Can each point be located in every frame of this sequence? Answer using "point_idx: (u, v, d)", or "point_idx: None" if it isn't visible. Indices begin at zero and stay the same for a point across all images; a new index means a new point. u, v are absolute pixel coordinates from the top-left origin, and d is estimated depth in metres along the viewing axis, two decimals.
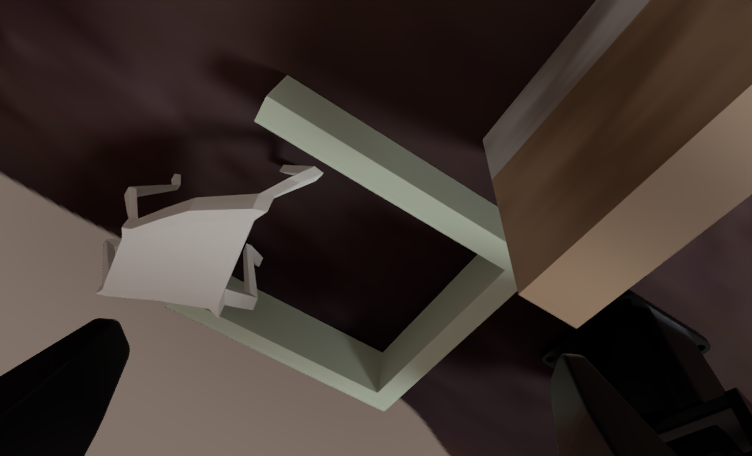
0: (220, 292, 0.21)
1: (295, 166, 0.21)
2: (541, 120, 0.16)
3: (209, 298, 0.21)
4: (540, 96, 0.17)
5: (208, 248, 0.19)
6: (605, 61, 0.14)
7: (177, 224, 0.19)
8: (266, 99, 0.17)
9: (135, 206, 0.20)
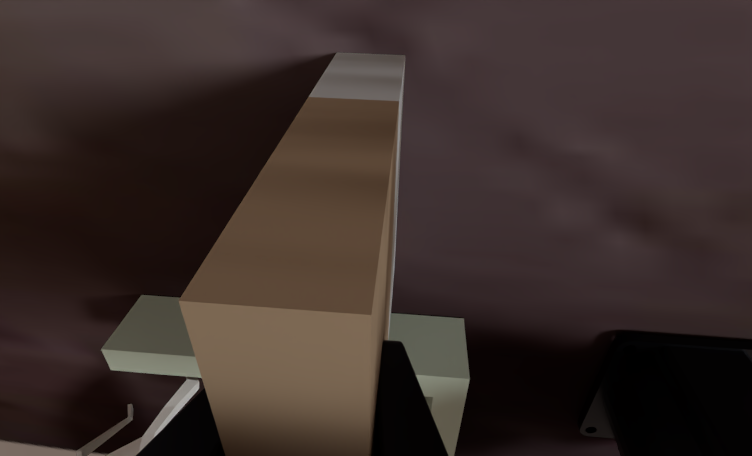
0: None
1: None
2: None
3: None
4: None
5: None
6: None
7: None
8: (103, 351, 0.17)
9: None
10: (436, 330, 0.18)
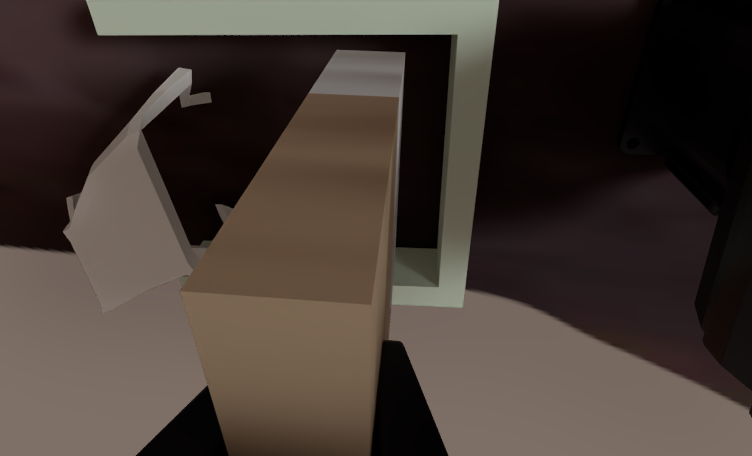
0: (179, 249, 0.19)
1: None
2: None
3: (177, 262, 0.19)
4: None
5: (132, 207, 0.18)
6: None
7: (91, 198, 0.18)
8: (88, 1, 0.16)
9: (72, 209, 0.20)
10: None
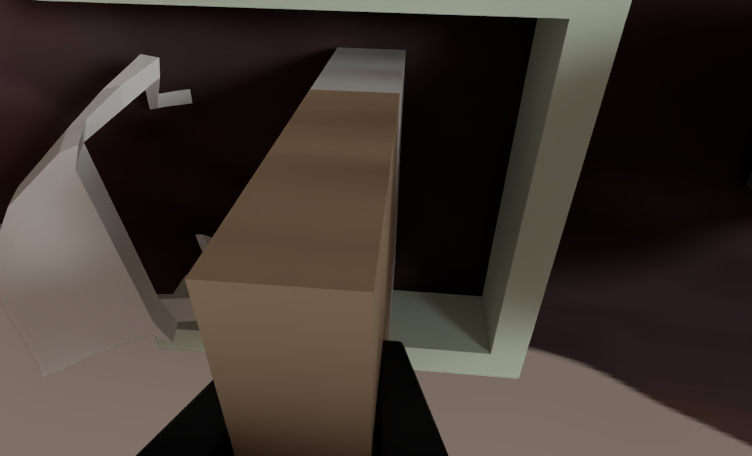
0: (141, 304, 0.14)
1: None
2: None
3: (138, 320, 0.14)
4: None
5: (73, 249, 0.13)
6: None
7: (16, 235, 0.13)
8: None
9: None
10: None
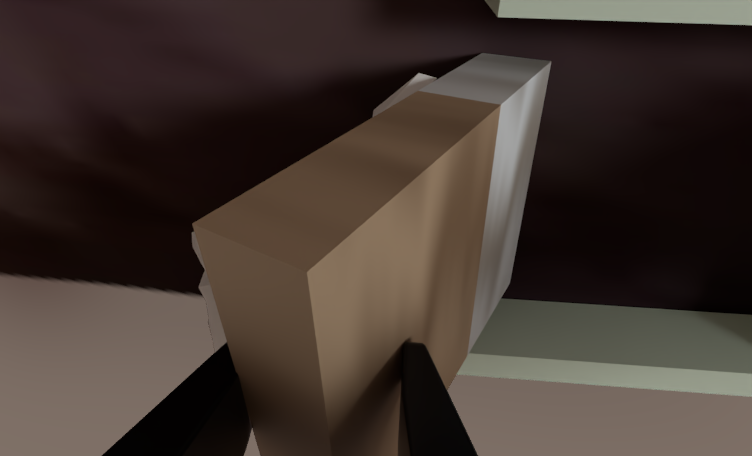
0: None
1: (390, 97, 0.13)
2: None
3: None
4: None
5: None
6: None
7: None
8: None
9: None
10: None
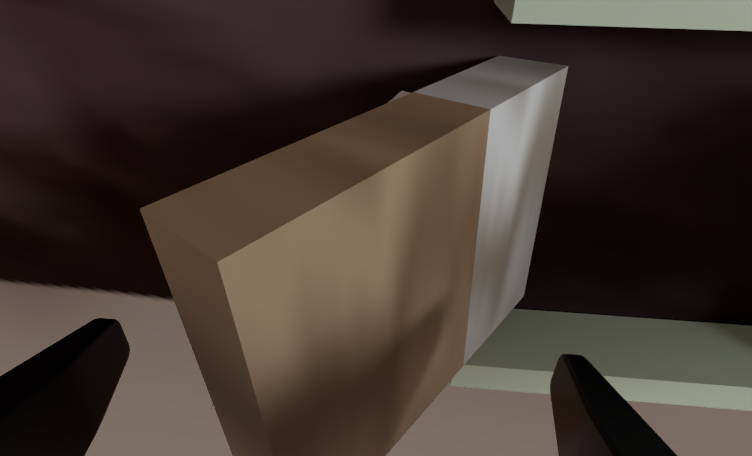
0: None
1: None
2: None
3: None
4: None
5: None
6: None
7: None
8: None
9: None
10: None
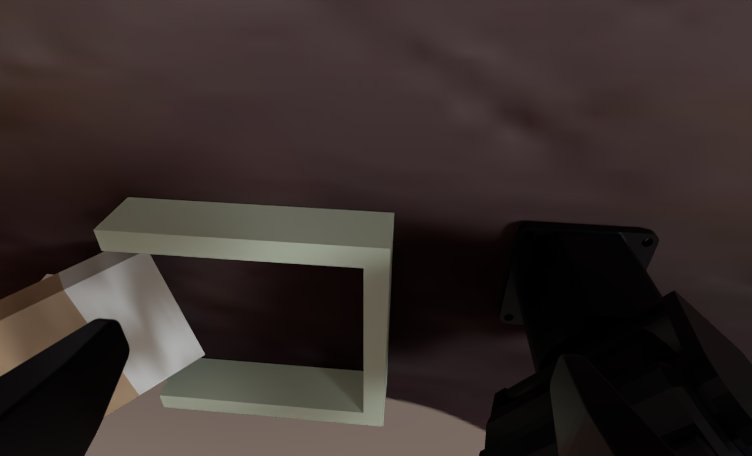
0: None
1: None
2: None
3: None
4: None
5: None
6: None
7: None
8: (95, 232, 0.21)
9: None
10: (369, 220, 0.22)
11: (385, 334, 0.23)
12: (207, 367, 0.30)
